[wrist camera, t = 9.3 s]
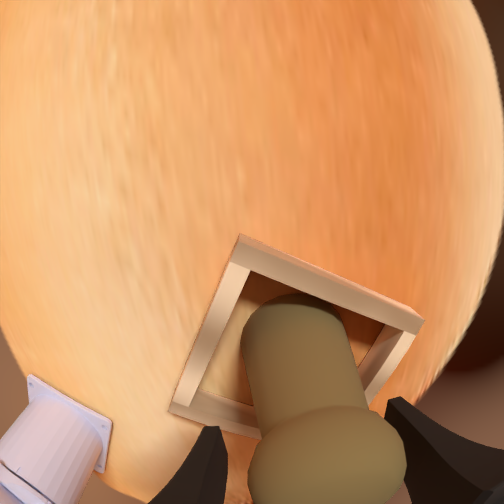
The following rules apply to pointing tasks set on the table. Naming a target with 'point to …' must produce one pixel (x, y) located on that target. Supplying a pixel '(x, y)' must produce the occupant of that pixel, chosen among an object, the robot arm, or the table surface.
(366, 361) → the open square wooden box
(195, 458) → the robot arm
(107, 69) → the table surface
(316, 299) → the cork
